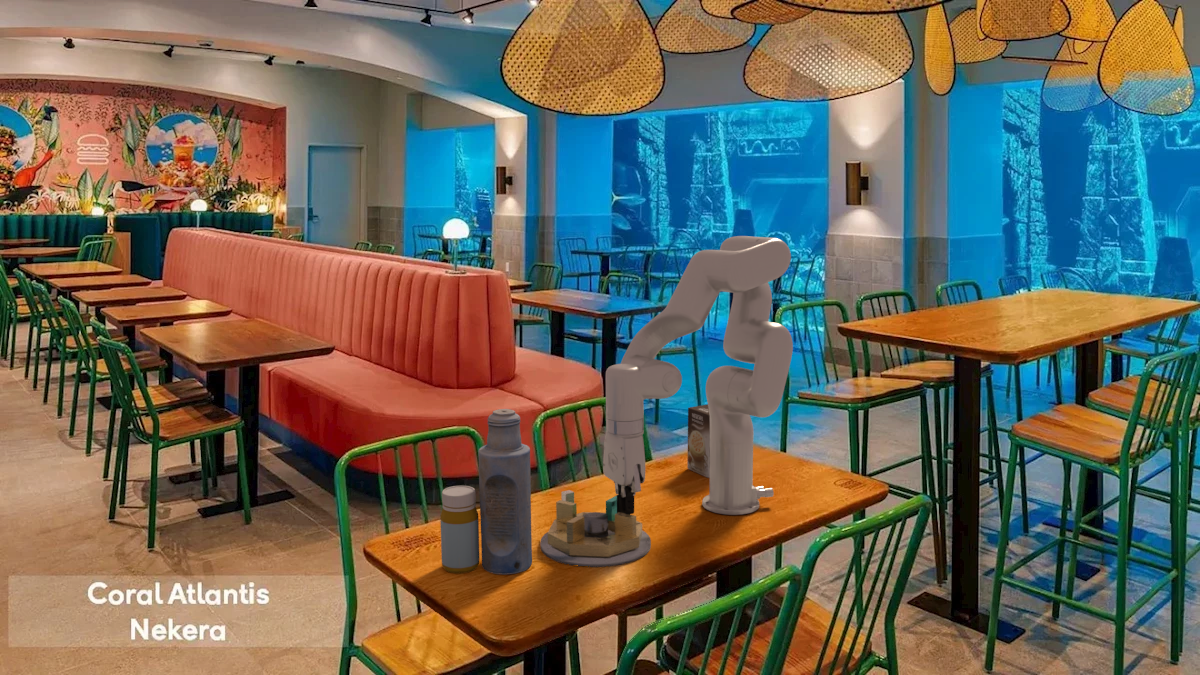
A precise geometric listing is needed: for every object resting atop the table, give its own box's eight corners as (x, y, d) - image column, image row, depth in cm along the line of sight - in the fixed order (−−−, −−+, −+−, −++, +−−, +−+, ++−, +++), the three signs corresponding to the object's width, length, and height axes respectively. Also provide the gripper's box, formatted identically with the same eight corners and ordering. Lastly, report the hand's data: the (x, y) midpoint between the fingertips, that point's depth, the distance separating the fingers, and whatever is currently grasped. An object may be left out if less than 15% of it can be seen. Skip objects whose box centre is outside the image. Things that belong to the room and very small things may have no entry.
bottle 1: (487, 565, 179) (485, 489, 176) (459, 577, 174) (457, 499, 171) (461, 556, 183) (459, 482, 181) (434, 568, 178) (431, 491, 175)
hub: (635, 521, 202) (635, 485, 201) (663, 561, 180) (663, 521, 179) (533, 529, 198) (532, 492, 196) (549, 571, 176) (548, 530, 174)
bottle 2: (475, 574, 175) (470, 416, 170) (489, 554, 185) (485, 404, 180) (525, 577, 174) (522, 418, 169) (537, 556, 183) (534, 405, 178)
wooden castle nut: (609, 515, 202) (609, 487, 201) (665, 539, 188) (665, 509, 187) (533, 536, 190) (532, 506, 189) (586, 563, 176) (585, 531, 175)
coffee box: (686, 468, 239) (686, 407, 236) (706, 465, 242) (707, 403, 240) (707, 478, 231) (708, 414, 229) (728, 474, 234) (729, 411, 232)
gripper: (591, 420, 194) (592, 505, 197) (626, 437, 181) (627, 528, 184) (623, 415, 197) (624, 500, 200) (660, 432, 184) (660, 521, 187)
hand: (625, 513), depth 192 cm, fingers closed
